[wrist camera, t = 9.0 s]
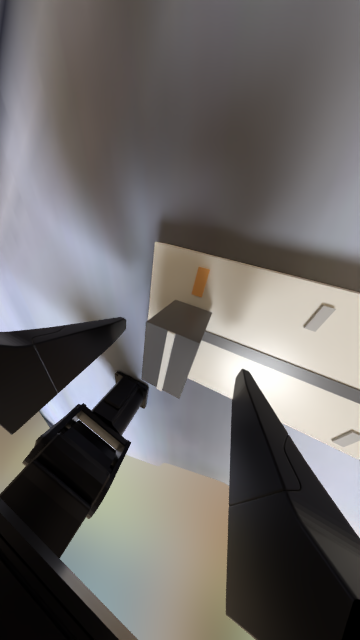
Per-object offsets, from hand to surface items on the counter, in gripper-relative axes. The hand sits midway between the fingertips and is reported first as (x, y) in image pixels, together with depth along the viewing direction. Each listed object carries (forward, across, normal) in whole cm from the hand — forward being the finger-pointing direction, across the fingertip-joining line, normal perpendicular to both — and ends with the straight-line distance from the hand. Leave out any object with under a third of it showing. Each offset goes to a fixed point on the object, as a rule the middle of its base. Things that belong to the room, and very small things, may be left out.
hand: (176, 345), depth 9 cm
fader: (+2, 0, 0) cm, 2 cm away
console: (+5, -7, 0) cm, 8 cm away
